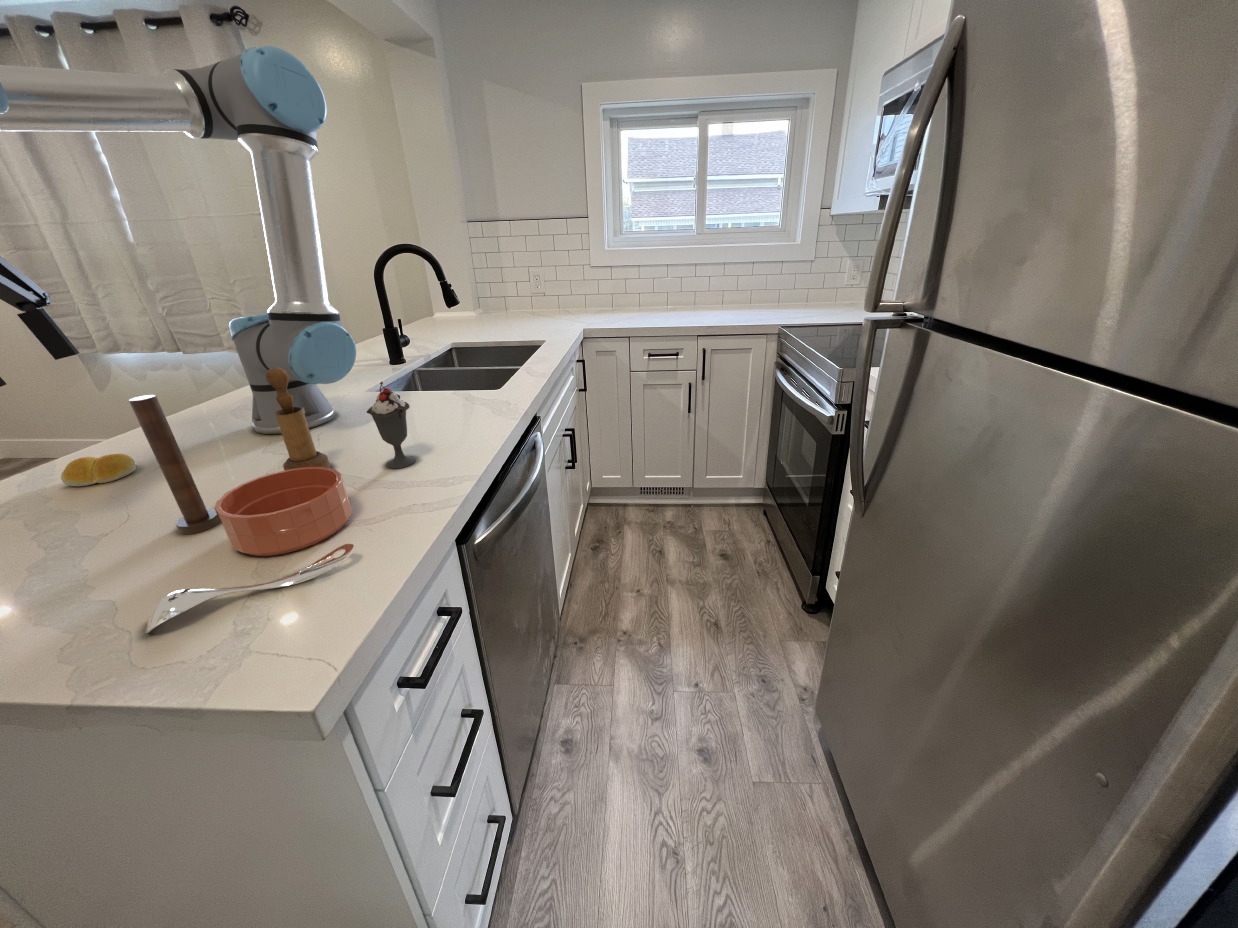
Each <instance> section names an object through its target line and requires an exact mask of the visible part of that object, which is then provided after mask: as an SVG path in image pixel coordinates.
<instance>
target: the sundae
mask: <svg viewBox="0 0 1238 928" xmlns="http://www.w3.org/2000/svg"><path fill="white" fill-rule="evenodd" d="M383 384H384V382H383V381H381V382H380V383H379V385H380V387H379V393H378V395H377V396H376V398H375V402H374V404H373V405H371V406H370V407H369V408H368V409H367V410H366V412H365V413H366V414H369V415H370V416H371V417H372V420H373V422H374V424H375V427H376V428H377V430H378V431H377V432H378V433H379V435H380V438H381V439H382V441H384V442H385V443H386V444H388V445H391V446H392V447H393V450H394V457H393V458H392V459H390V460H388V461H387V462H386V463H385V466H386V467H387V468H388V469H397V470H398V469H404V468H407V467H409V466H412V465H413V464H415V463H416V461H417V459H416V457H414V456H411V455H405V454H404V452H403V449H402V444H403V442H404V441H406V439H407V437H408V422H407V411H408V410H409V409H410V408H411V407H410V404H409V403H408V402H406V401H404V400H402V399H401V395H399V394H397V393H396V392H395V391H392V390H391V389H390V388H388V387H387V388H385V386H383ZM382 388H383V390H382Z"/></svg>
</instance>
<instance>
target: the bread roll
mask: <svg viewBox="0 0 1238 928" xmlns="http://www.w3.org/2000/svg"><path fill="white" fill-rule="evenodd" d="M136 469H137V464H136V461H135V459H133V457H132V456H130V455H128V454H126V453H110V454H104V455H102V456H99V457H95V456H82V457H78V458H75V459H74V460H72V461H71V460H70V462H68V463H67V465H66V466H64V469H63V470H62V472H61V474H60V480H61V482H62V483H63V484H65V485H67V486H71V487H86V486H92V485H96V484H104V483H109V482H110V483H111V482H114V481H116V480H120V479H121V478H124V477H127V476H129V475H130V474H131V473H133V472H135V470H136Z"/></svg>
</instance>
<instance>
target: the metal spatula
mask: <svg viewBox="0 0 1238 928" xmlns="http://www.w3.org/2000/svg"><path fill="white" fill-rule="evenodd" d="M355 548H356V547H355V545H354V544H353V543H345V544H343V545H340V546H338V547H336V548H335V549H333V550H332V551H330V552H328V553H327V554H326V555H324V556H323V557H321V558H319V559H318V560H316V561H315V562H312V563H311V564H309V565H307V566H306V567H304V568H302V569H300V570H299V571H297V572H295V573H292V574H291V575H288V576H286V577H283V578H280V579H276V580H273V581H269V582H263V583H258V584H252V585H244V586H232V587H217V588H216V587H213V588H212V587H211V588H209V587H207V588H204V587H203V588H201V587H198V588H197V587H195V588H192V587H191V588H181V589H177V590H173V591H169V592H168V593H167V594H165V595H163V596H162V597H161V598H160V599H159V600H157V602H156V603H155V605H154V606H153V608H152V609H151V612H150V614H149V617H148V620H147V624H146V629H145V634H149V633H151V632H152V631H153V630H154V629H155V628H157V627H159V626H160V625H162V624H164V623H165V622H167V621H169V620H171V619H173V618H175V617H178V616H179V615H181V614H183V613H185V612H186V611H189V610H190V609H193V608H195V607H196V606H198V605H199V606H200V605H201V604H203V603H204V602H207V601H209V600H212V599H215V598H217V597H221V596H225V595H230V594H235V593H242V592H243V593H244V592H252V591H263V590H272V589H280V588H284V587H290V586H294V585H298V584H301V583H303V582H307V581H309V580H312V579H314V578H316V577H319V576H321V575H323V574H325V573H326V572H329V571H330V570H333V569H334V568H336V567H338V566H339V565H340V564H342V563H343V562H344V561H346V560H347V559H349V558H350V556H351V555H352V554H353V552H354V550H355ZM342 551H344V553H342V555H340V556H338V557H335V555H337V554H338V553H339V552H342Z"/></svg>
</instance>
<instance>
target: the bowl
mask: <svg viewBox="0 0 1238 928" xmlns="http://www.w3.org/2000/svg"><path fill="white" fill-rule="evenodd" d="M349 498H350V497H349V494H348V491H347V489H346V486H345V481H344V478H343V476H342V473H341V472H339V471H338V470H337V469H334V468H326V467H304V468H295V469H289V470H284V469H283V470H280V471H276V472H272V473H268V474H265V475H262V476H259V477H256V478H254V479H251V480H248V481H245V482H244V483H243V482H242V483H241V484H239V485H237V486H235V487H234V488H232V489H230V490H228V491H227V492H225V493H224V494H223V495H222V496H221V497H219V499H217V501H216V503H215V506H214V509H215V510H216V513H217V515H218V517H219V520H220V525H221V527H222V529H223V531H224V533H225V536H226V538H227V540H228V542H229V544H230V546H231V548H232V550H234V551H237V552H240V553H243V554H246V555H250V556H257V557H270V556H278V555H285V554H288V553H292V552H297V551H299V550H304V549H307V548H308V547H311V546H314V545H316V544H318V543H320V542H322V541H324V540H326V539H328V538H330V537H331V536H333V535H334V534H335V533H336V532H338V531H339V530H341V529H342V528H343V526H344V525H345V524H346V522H347V521H348V519H349V518H350V516H351V514H352V505H351V502H350V499H349Z"/></svg>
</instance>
